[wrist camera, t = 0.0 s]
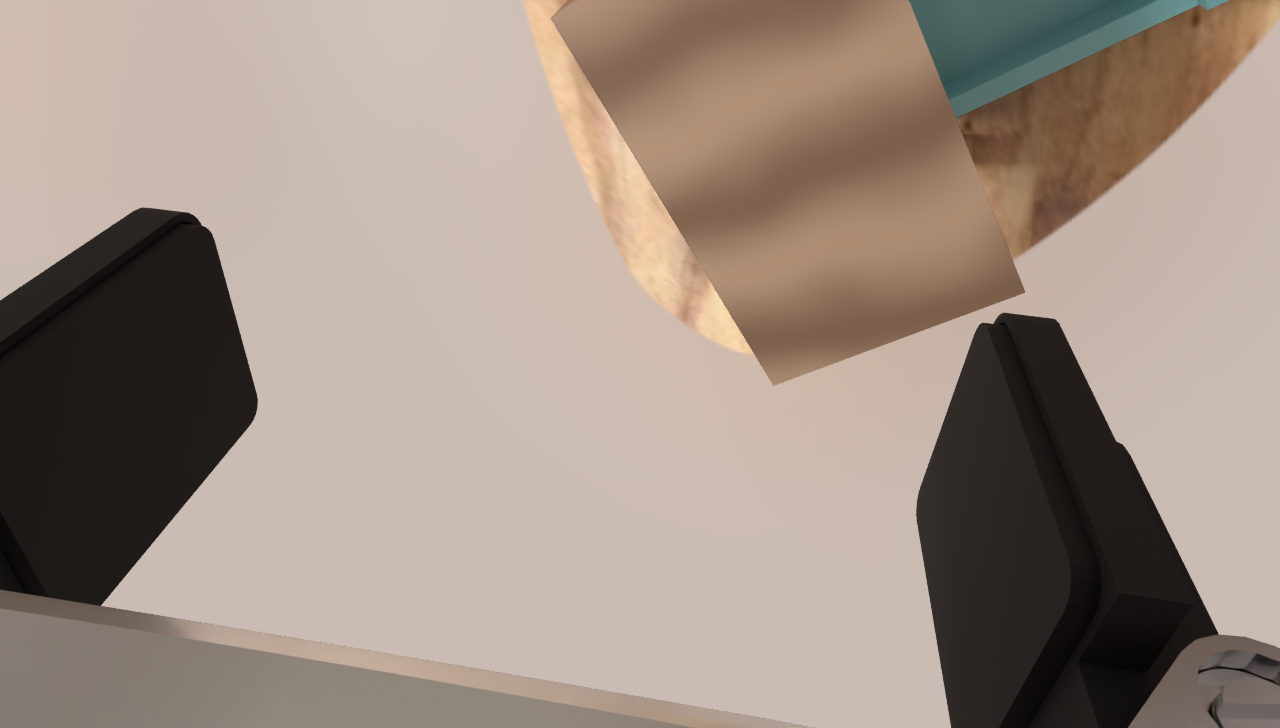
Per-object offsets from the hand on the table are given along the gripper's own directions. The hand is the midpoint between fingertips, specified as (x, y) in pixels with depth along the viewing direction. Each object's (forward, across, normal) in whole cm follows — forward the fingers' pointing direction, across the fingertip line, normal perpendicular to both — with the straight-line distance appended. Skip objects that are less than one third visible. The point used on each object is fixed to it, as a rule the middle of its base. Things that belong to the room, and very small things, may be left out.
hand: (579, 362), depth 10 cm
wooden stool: (+37, -4, +6) cm, 38 cm away
